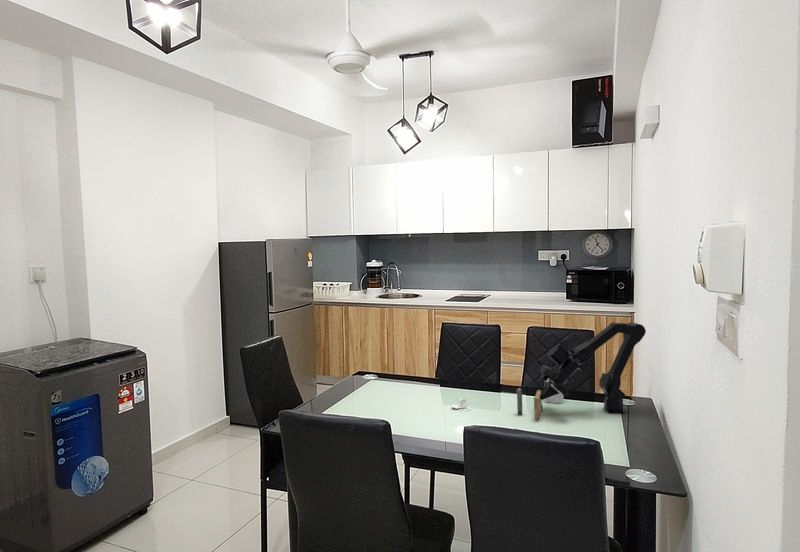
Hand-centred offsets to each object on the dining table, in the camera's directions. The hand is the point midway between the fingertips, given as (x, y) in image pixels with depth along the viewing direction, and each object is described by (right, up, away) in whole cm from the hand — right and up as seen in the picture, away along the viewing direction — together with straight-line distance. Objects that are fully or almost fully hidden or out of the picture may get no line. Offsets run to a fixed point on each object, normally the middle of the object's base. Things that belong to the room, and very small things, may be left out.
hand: (540, 398), depth 210 cm
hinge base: (+1, -7, +6) cm, 9 cm away
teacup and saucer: (-33, -8, +16) cm, 37 cm away
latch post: (-8, -7, +2) cm, 11 cm away
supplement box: (+11, -6, +18) cm, 22 cm away
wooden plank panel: (-1, -6, 0) cm, 6 cm away
